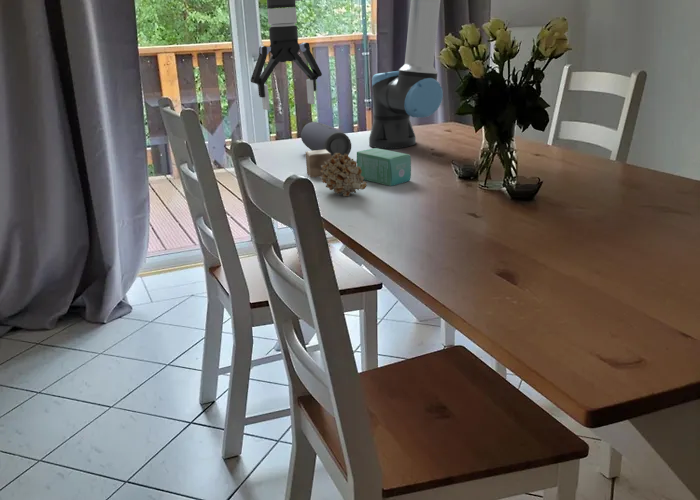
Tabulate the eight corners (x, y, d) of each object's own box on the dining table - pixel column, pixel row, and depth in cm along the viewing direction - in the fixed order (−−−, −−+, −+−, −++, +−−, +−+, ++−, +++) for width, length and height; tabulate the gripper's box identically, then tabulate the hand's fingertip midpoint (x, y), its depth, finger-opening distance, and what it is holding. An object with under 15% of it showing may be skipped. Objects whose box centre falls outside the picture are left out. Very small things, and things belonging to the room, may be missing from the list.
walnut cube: (327, 170, 198) (326, 149, 196) (332, 175, 192) (330, 153, 190) (307, 173, 197) (305, 151, 194) (310, 177, 191) (309, 155, 189)
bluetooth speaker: (354, 162, 206) (352, 128, 202) (324, 166, 202) (322, 132, 199) (328, 149, 226) (326, 118, 222) (300, 153, 222) (298, 121, 219)
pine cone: (312, 190, 177) (309, 152, 174) (346, 184, 182) (344, 146, 178) (353, 210, 159) (350, 168, 156) (389, 203, 163) (388, 161, 160)
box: (391, 187, 177) (390, 157, 175) (356, 179, 187) (355, 151, 185) (412, 181, 182) (411, 153, 179) (376, 174, 191) (375, 147, 189)
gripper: (317, 22, 194) (322, 100, 201) (233, 28, 182) (241, 110, 189) (331, 22, 187) (335, 102, 194) (244, 28, 176) (252, 113, 183)
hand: (289, 106), depth 192 cm, fingers open, 13 cm apart
